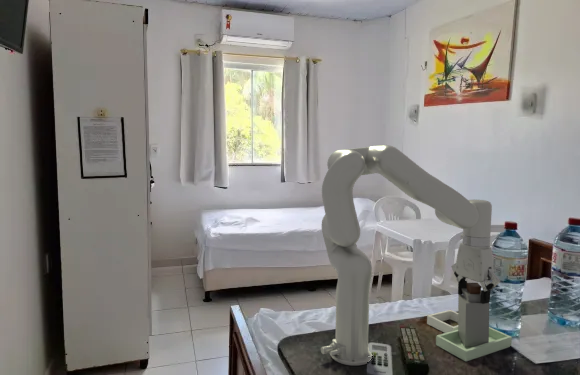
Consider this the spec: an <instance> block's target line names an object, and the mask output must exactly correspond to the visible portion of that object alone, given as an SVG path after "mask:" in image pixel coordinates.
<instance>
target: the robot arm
mask: <svg viewBox="0 0 580 375" xmlns="http://www.w3.org/2000/svg"><path fill="white" fill-rule="evenodd" d="M326 162H327V164H326V165H327V169H328V170H327V172H326V173H325V175H324V179H323V181H322V184H321V198H322V204H323V209H324V214H325V215H324V216H323V217H322V221H321V232H322V233H321V234H322V238H323V240H324V245H325V249H326V253H327V257H328V260H329V263H330V266H331V267H332V269H334V271H336V273H337V283H336V287H335V288H336V289H335V338H333V339H332V340H331V341H332V342H331V343H330V344H329V345H326V346H321V347H320V352H321V354H322V355H325V354H329V356H330V357H331V358H332V359H333V360H334V361H335V362H337V363H339V364H342V365H345V366H355V367H356V366H363V365H366V364H368V363H367V362H368V361H369V360H370V359H371V358H372V356H373V357H374V354H373V355H372V354H371V352H370V351H369V347H370V346H369V325H370V323H369V318H370V289H371V281H372V276H373V266H372V263H371V260H370V258H369V257H368V255H366V254H365V253H364V252H363V251H362V250H361V249H359V248H358V247H357V242H358V241H359V239H360V237H361V225H360V223H359V220H358V215H357V211H356V207H355V202H354V201H355V200H354V195H353V194H354V193H353V190H354V186H355V184H356V183H357V181H358V179H359V178H361V176H367V175H372V174H373V175H375V174H377V175H378V174H379V175H380V176H382V177H383V178H385V179H386V180H387V181H388V182H390V183H391V184H393V185H394V186H395V187H396V188H397V189H399V190H400V191H402V192H403V193H404V194H405V195H407V196H408V197H410V198H412V199H413V200H415V201H416V202H420V203H421V204H424V205H426V206H428V207H430V208H432V209H434V215H435V216H436V218H437V219H438V220H439V221H440V222H442V223H444V224H446V225H450V226H453V227H456V228H459V229H462V234H460V239H462V241H461V243H459V246H458V250H457V254H456V262H455V263H454V264H452V265H451V269H452V271H453V275H454V276H455V278H456V281H457V282H458V284H457V294H458V295H463V293H462V288H467V284H466V283H468V281H467V279H468V280H471V281H475V282H476V283H480V286H481V300H480V302H481V303H482V304H485V303H489V304H490V300H491V291H492V290H493V289H494V288H496V287H497V286H498V285H499V284H500V283H501V279H500V278H499V276H498V275H497V274H496V273H495V271H494V256H493V255H494V254H493V249H492V247H490V246H491V231H492V230H491V229H492V216H493V215H492V214H493V211H492V210H493V205H492V203H491V202H490V201H488V200H485V199H467V198H466V197H465V196H464V195H462V193H460V192H458V190H455V189H454V188H452V187H451V186H449V185H447V184H446V183H445V182H443V181H441V180H440V179H438V178H437V177H435V176H434V175H432V174H430V173H428V172H427V171H426V170H425V169H424V168H422V167H421V166H420V165H419V164H418V163H416V162H414V161H413V160H412V159H410V157H408V156H407V155H406V154H405V153H403V152H402V151H400V150H399V149H398V148H397V147H395V146H392V145H387V144H386V145H385V144H382V145H373V146H365V147H355V148H348V149H347V148H346V149H345V148H344V149H338V150H335V151H334V152H332V153H331V154H330V155H329V157H328V159H327V161H326ZM368 356H371V357H368Z"/></svg>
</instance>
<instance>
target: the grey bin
mask: <svg viewBox="0 0 580 375" xmlns="http://www.w3.org/2000/svg"><path fill="white" fill-rule="evenodd" d="M426 320H427V321H426V324H427V325H429V326H431V327H433V328H434V329H436V330H439V331H440V332H443V334H444V333H447V332H451V331H454V330H458V324H457V325H454V326H453V325H451V324H449V323H446V322H445V321H447V320H451V321H453V322H456V323H458V311H454V310H451V309H448V310H444V311H439V312H436V313H435V312H434V313H433V314H428V315H427V316H426Z"/></svg>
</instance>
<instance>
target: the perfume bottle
mask: <svg viewBox="0 0 580 375" xmlns="http://www.w3.org/2000/svg"><path fill="white" fill-rule="evenodd" d="M466 284H467V288H462V293H463V294H462V295H459V294H458V297H457V298H458V301H457V302H458V303H457V304H458V307H457V308H458V309H457V313H458V322H457V325H458V336H459V338H460V339H461V341H462V342H463V344H464V345H465V346H479V345H482V344H485V343H488V342H489V327H490V302H489V303H485V304H482V303H481V302H480V300H481V290H482V286H481V284H479V282H467V283H466Z"/></svg>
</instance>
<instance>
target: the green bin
mask: <svg viewBox="0 0 580 375" xmlns="http://www.w3.org/2000/svg"><path fill="white" fill-rule="evenodd" d="M512 337H513V336H510V335H508V334H506V333H504V332H502V331H500V330H497V329H495V328H494V327H490V326H489V342H488V343H485V344H482V345H479V346H465V345H464V344H463V342H462V341H461V339H460V338H459V336H458V330H454V331H451V332H447V333H444V332H443V333H441V334H438V335H436V336H435V346H437V347H439V348H441V349H443V350H445V351H446V352H447V353H450V354H452V355H453V356H455V357H457V358H459V359H460V360H462V361H464V362H468V361H469V362H470V361H472V360H474V359H478V358H480V357H481V358H482V357H485V356H487V355H489V354H492V353H496V352H498V351H502V350H505V349H508V348H511V347H512V340H513V338H512ZM510 346H511V347H510Z"/></svg>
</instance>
